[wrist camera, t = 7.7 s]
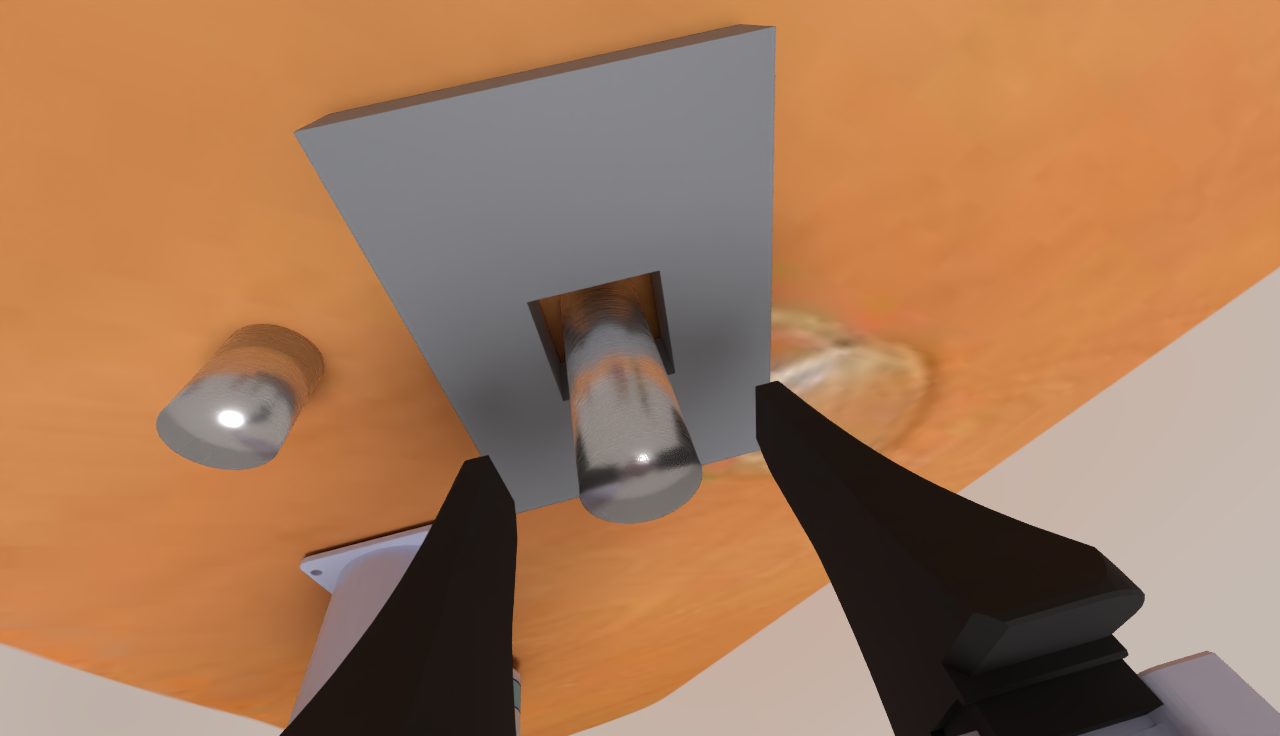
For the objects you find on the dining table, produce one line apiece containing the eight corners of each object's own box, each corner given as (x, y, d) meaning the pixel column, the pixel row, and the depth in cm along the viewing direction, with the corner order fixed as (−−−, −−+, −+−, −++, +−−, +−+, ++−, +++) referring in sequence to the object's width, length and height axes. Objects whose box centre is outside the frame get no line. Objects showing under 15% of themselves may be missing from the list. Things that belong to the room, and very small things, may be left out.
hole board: (748, 411, 23) (768, 447, 22) (516, 471, 23) (515, 513, 21) (740, 24, 14) (775, 26, 12) (328, 114, 13) (293, 132, 11)
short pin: (340, 379, 18) (301, 455, 15) (263, 398, 18) (207, 478, 15) (291, 315, 16) (235, 387, 13) (205, 336, 16) (127, 413, 13)
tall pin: (643, 322, 19) (709, 503, 12) (573, 343, 19) (598, 535, 12) (626, 257, 17) (693, 425, 10) (549, 280, 17) (562, 464, 10)
